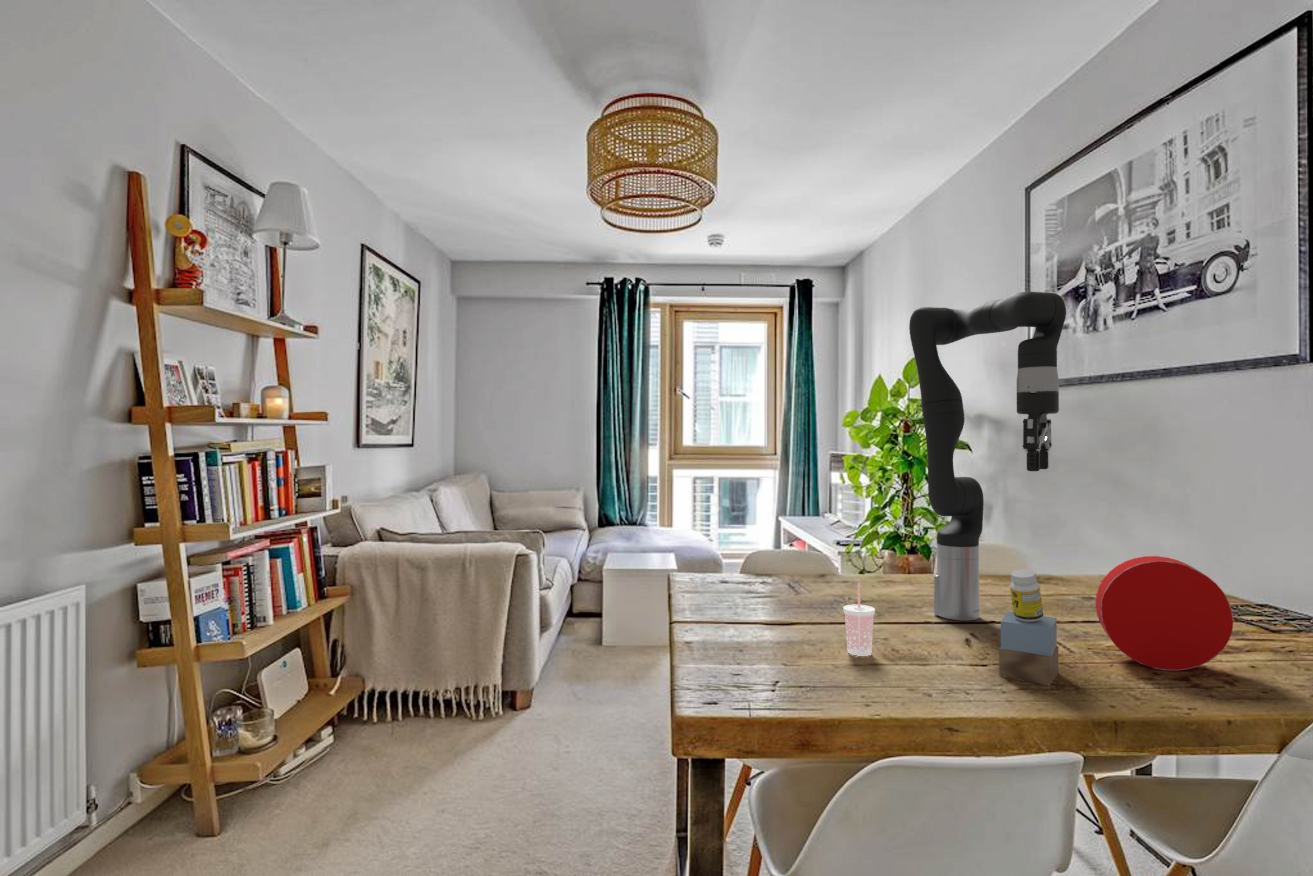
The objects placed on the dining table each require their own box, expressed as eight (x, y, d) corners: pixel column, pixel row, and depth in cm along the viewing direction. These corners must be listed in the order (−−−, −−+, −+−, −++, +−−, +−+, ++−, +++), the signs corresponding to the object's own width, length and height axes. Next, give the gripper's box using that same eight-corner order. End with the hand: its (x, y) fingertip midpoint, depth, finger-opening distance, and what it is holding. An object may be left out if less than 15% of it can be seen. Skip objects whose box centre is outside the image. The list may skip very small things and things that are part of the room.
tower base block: (999, 676, 124) (999, 648, 124) (1010, 664, 130) (1010, 638, 130) (1049, 686, 119) (1049, 657, 119) (1058, 673, 125) (1058, 646, 125)
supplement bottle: (1011, 612, 128) (1005, 569, 127) (1039, 610, 126) (1034, 567, 125) (1017, 623, 123) (1011, 578, 122) (1046, 621, 122) (1041, 576, 121)
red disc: (1222, 667, 128) (1221, 559, 127) (1233, 677, 122) (1233, 564, 122) (1095, 654, 136) (1095, 552, 136) (1101, 663, 130) (1100, 557, 130)
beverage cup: (875, 649, 139) (875, 580, 139) (875, 659, 134) (874, 587, 133) (844, 647, 141) (843, 579, 141) (842, 656, 136) (841, 585, 135)
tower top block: (1000, 648, 124) (1000, 621, 124) (1008, 638, 130) (1007, 611, 130) (1051, 656, 119) (1051, 628, 119) (1056, 645, 126) (1056, 617, 126)
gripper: (1024, 392, 148) (1025, 468, 148) (1008, 389, 137) (1009, 471, 137) (1064, 391, 143) (1065, 469, 143) (1051, 387, 132) (1051, 472, 132)
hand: (1037, 470), depth 140 cm, fingers open, 8 cm apart
